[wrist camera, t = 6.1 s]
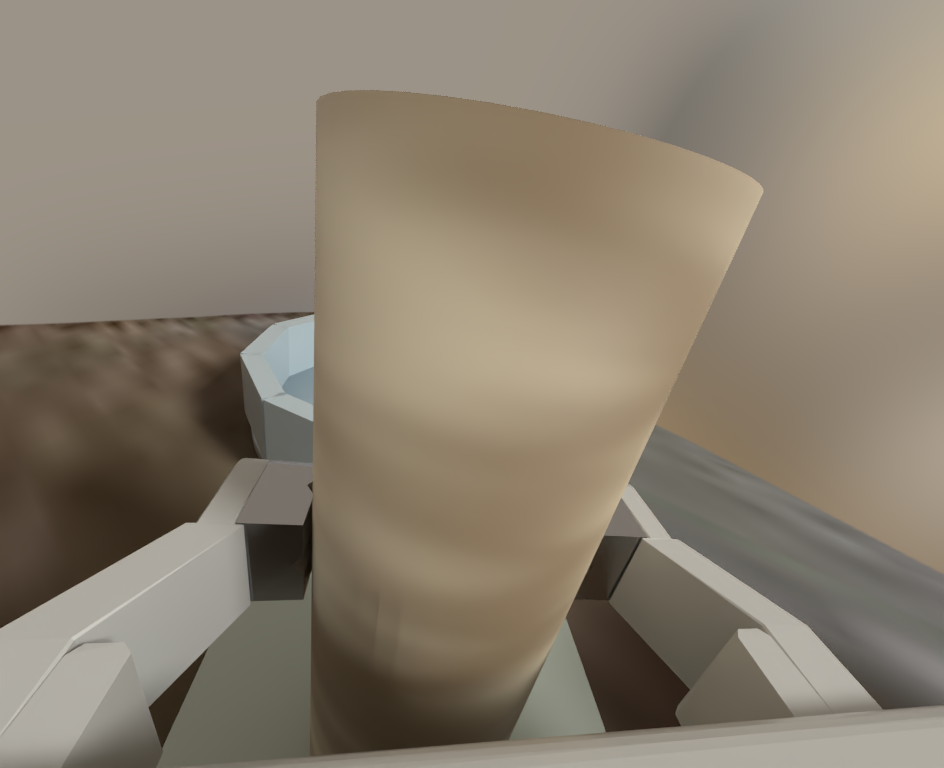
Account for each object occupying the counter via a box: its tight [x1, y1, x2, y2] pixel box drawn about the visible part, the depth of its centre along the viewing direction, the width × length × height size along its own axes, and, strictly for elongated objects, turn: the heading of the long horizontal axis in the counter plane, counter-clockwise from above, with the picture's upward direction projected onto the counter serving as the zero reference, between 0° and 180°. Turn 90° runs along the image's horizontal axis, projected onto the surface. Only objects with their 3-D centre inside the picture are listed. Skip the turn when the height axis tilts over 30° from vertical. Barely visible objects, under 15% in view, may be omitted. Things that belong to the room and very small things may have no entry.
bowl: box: [240, 315, 314, 463], centre depth 25 cm, size 19×19×4 cm
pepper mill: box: [310, 90, 763, 756], centre depth 8 cm, size 5×5×14 cm
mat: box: [156, 571, 606, 768], centre depth 11 cm, size 12×12×1 cm
